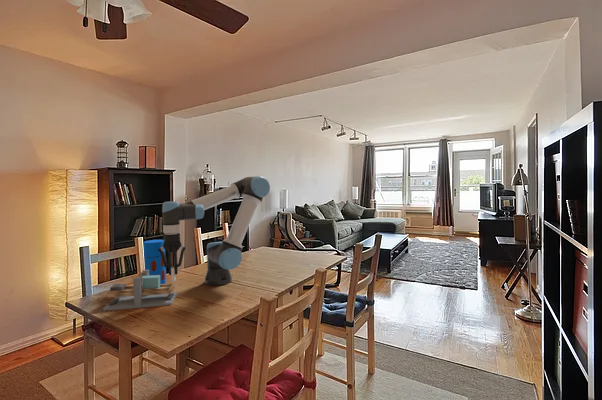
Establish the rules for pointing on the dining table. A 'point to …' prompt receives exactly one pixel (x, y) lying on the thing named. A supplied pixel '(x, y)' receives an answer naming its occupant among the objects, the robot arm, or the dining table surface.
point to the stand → (140, 298)
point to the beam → (124, 290)
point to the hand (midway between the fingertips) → (173, 281)
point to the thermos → (154, 259)
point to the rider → (151, 281)
